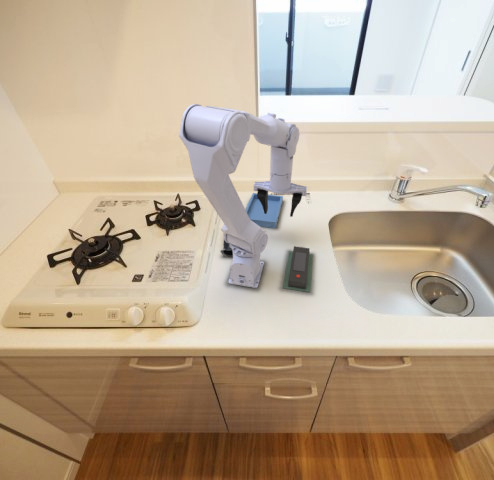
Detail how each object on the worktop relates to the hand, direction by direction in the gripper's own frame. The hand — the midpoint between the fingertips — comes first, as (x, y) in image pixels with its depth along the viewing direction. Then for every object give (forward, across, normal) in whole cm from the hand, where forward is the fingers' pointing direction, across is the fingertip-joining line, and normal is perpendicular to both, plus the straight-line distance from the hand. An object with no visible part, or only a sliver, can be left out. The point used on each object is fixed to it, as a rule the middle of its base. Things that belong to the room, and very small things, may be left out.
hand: (278, 213), depth 77 cm
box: (+9, +7, -13) cm, 17 cm away
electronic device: (+10, +12, +4) cm, 16 cm away
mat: (+9, -8, +13) cm, 18 cm away
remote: (+9, -8, +13) cm, 18 cm away
